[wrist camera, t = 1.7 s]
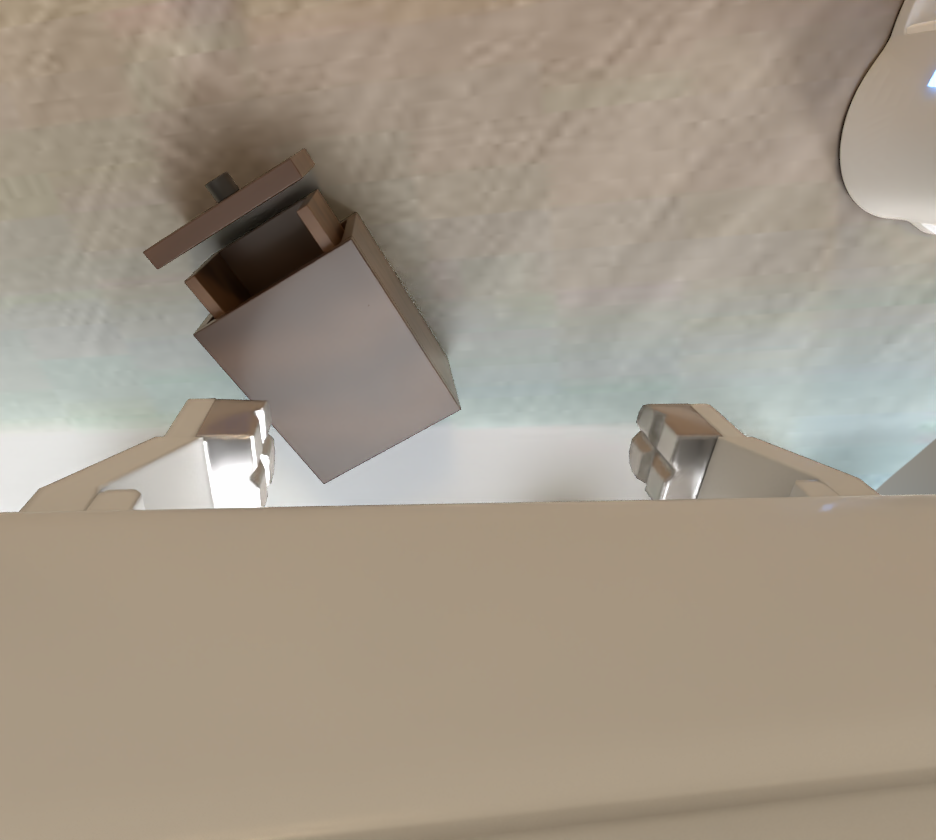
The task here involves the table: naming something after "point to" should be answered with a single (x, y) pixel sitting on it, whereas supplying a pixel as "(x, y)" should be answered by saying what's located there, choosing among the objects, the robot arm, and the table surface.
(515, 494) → the table surface
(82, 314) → the table surface
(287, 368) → the cabinet
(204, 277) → the drawer
